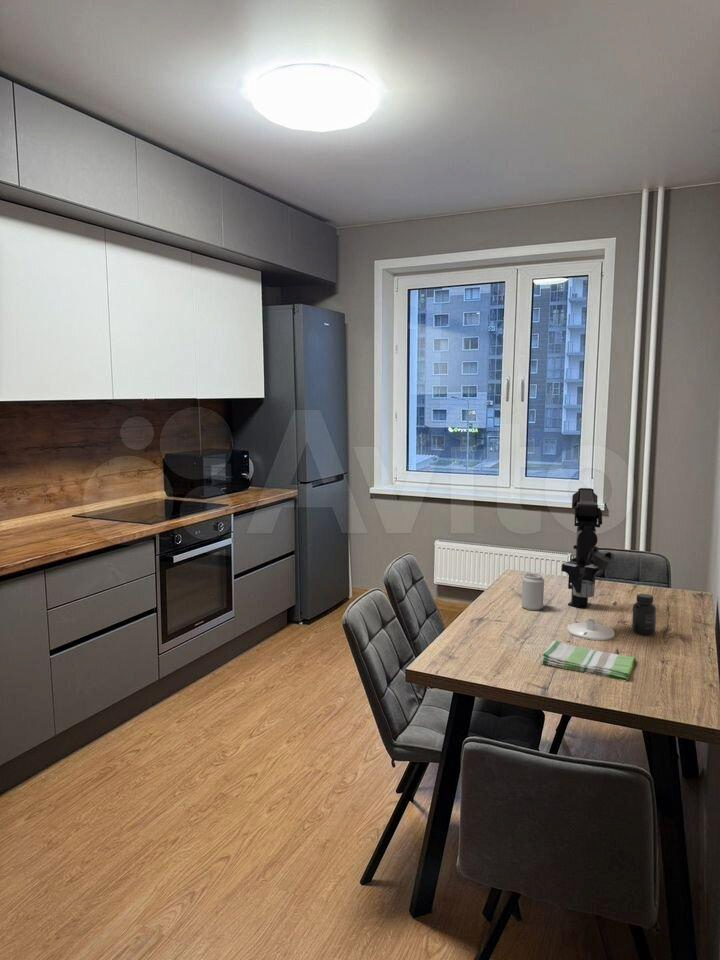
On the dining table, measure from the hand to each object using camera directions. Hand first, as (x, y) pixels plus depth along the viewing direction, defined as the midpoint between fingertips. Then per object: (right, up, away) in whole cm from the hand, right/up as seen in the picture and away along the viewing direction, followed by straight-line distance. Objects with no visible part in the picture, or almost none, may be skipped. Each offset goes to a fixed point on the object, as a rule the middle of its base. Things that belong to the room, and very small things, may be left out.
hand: (583, 591), depth 209 cm
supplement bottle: (+18, -13, -2) cm, 23 cm away
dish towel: (-8, -16, -27) cm, 32 cm away
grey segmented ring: (0, -1, 0) cm, 1 cm away
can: (-10, -10, +23) cm, 27 cm away
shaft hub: (+1, -13, -2) cm, 13 cm away
